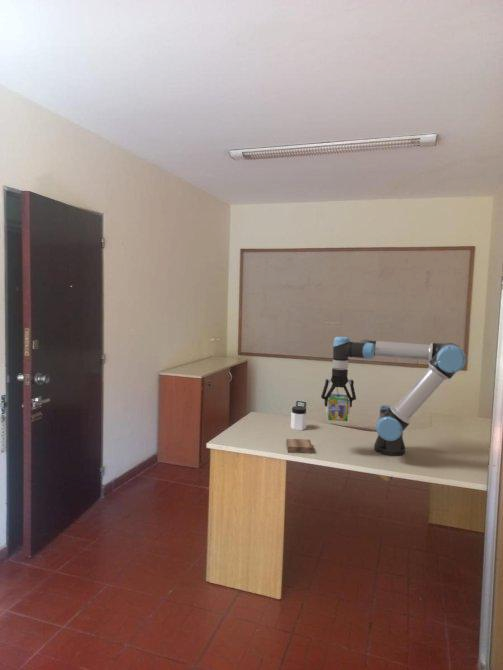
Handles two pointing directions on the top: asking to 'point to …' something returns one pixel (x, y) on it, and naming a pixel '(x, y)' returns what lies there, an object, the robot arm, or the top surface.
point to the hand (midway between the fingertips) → (337, 413)
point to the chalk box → (338, 407)
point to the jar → (298, 418)
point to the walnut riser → (299, 446)
